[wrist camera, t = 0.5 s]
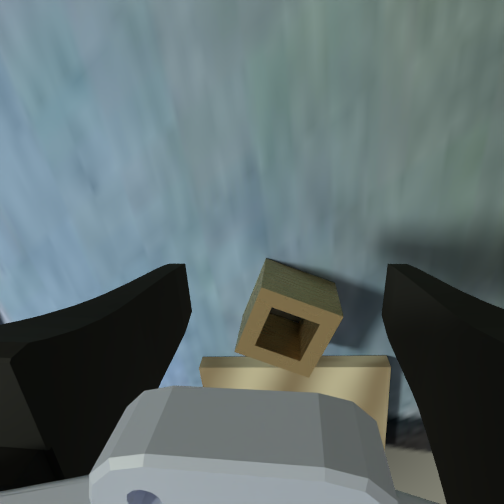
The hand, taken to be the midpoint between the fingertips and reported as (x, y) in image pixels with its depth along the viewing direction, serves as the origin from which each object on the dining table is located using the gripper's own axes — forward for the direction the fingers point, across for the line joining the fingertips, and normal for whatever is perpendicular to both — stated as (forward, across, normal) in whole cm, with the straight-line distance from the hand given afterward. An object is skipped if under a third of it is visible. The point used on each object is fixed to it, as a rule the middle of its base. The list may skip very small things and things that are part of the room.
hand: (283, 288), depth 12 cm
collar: (+10, 0, +6) cm, 12 cm away
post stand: (+10, 0, +16) cm, 19 cm away
